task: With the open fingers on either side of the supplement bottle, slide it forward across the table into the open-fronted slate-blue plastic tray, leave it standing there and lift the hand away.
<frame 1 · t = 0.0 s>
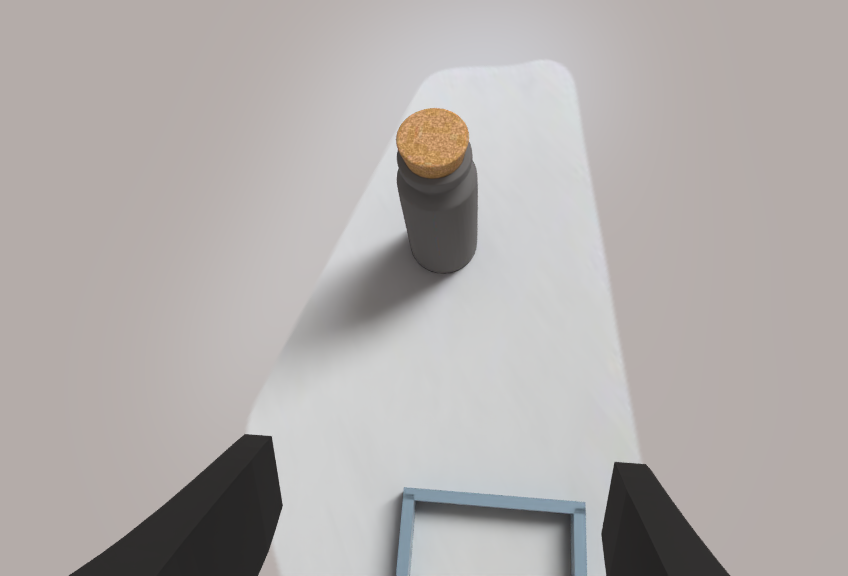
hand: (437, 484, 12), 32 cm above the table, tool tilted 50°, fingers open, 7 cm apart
bottle: (444, 244, 51), on the table
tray: (490, 561, 40), on the table
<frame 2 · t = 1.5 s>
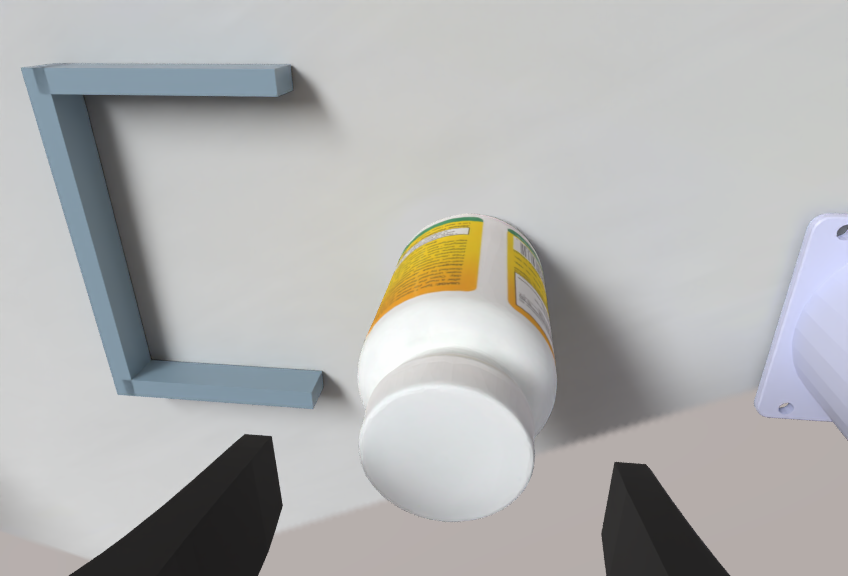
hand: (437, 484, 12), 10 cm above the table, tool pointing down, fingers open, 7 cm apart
supplement bottle: (468, 275, 22), on the table
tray: (207, 242, 22), on the table
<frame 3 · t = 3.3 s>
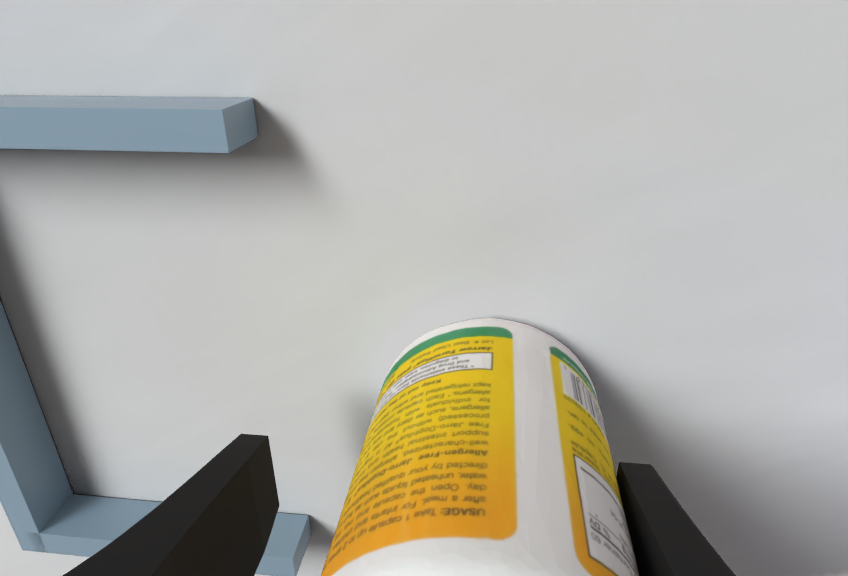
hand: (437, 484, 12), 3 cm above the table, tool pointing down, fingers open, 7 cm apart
supplement bottle: (485, 397, 15), on the table, touching gripper
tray: (140, 349, 15), on the table
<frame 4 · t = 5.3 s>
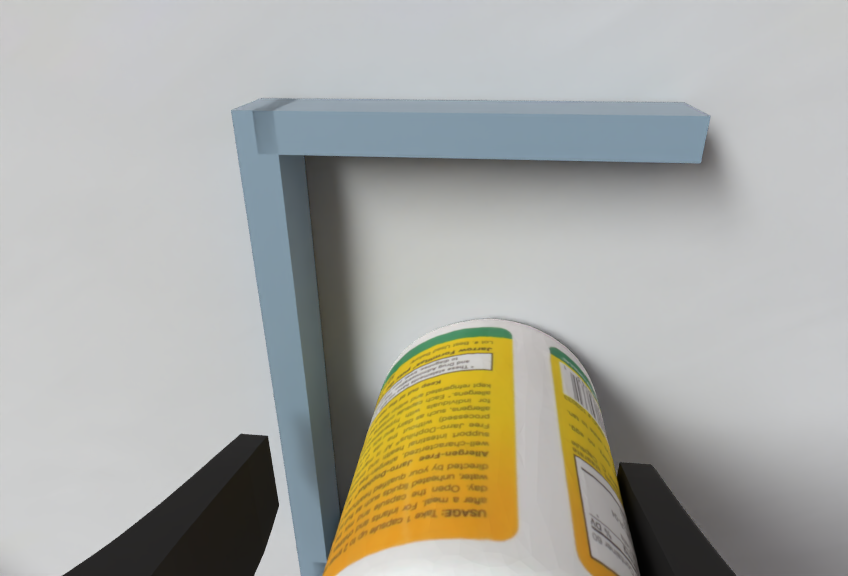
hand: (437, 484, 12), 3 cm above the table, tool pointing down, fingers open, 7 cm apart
supplement bottle: (485, 397, 15), on the table, touching gripper
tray: (466, 369, 14), on the table
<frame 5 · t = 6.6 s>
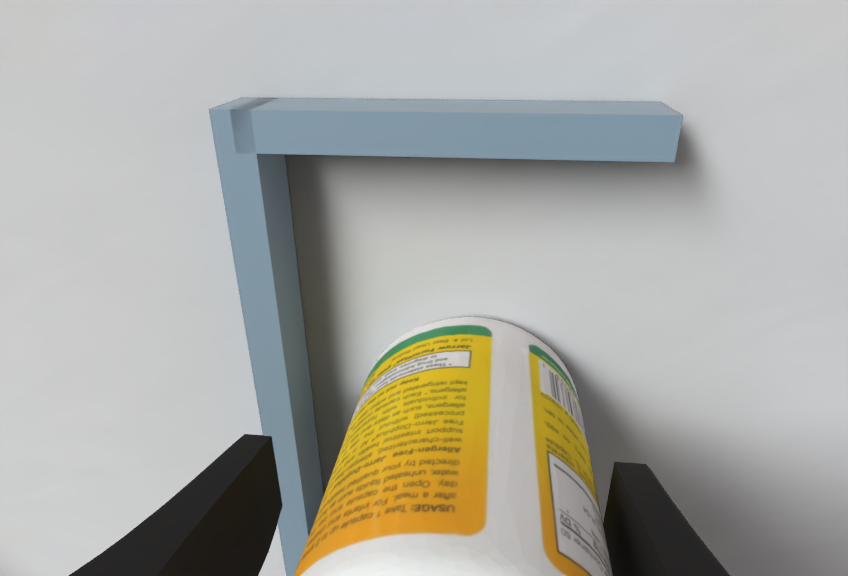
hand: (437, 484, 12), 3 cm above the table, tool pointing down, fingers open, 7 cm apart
supplement bottle: (468, 395, 15), on the table
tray: (448, 367, 14), on the table
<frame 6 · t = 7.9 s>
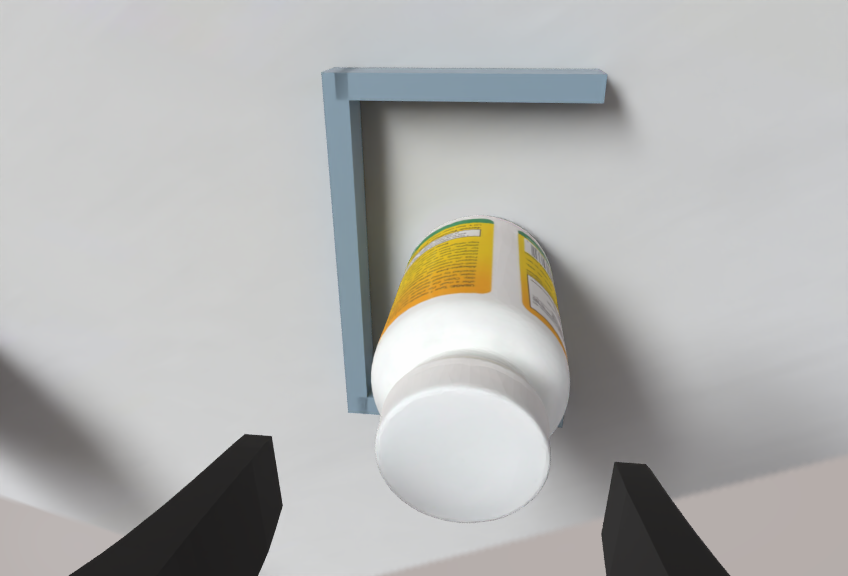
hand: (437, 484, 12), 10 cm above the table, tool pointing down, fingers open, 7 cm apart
supplement bottle: (477, 276, 22), on the table
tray: (464, 254, 21), on the table
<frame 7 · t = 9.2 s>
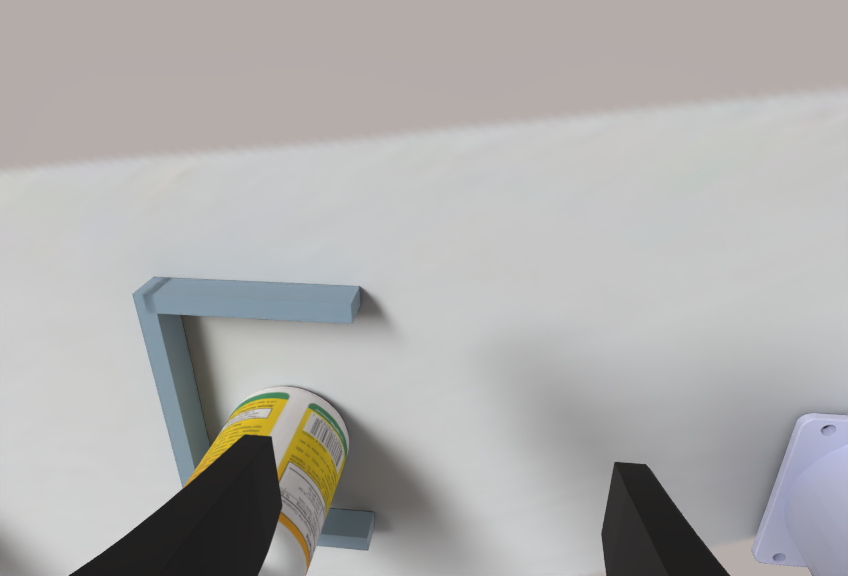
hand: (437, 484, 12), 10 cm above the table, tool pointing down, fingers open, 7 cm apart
supplement bottle: (293, 427, 26), on the table
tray: (278, 412, 25), on the table
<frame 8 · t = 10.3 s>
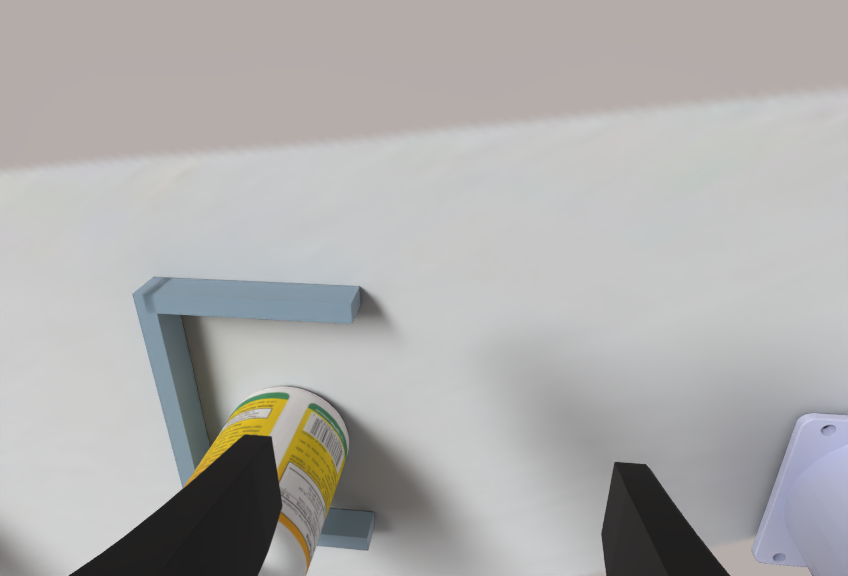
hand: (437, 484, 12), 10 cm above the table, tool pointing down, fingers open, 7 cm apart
supplement bottle: (293, 427, 26), on the table
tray: (278, 412, 25), on the table
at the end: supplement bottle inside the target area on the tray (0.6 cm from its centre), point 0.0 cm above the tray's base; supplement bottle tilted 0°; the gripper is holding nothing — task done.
